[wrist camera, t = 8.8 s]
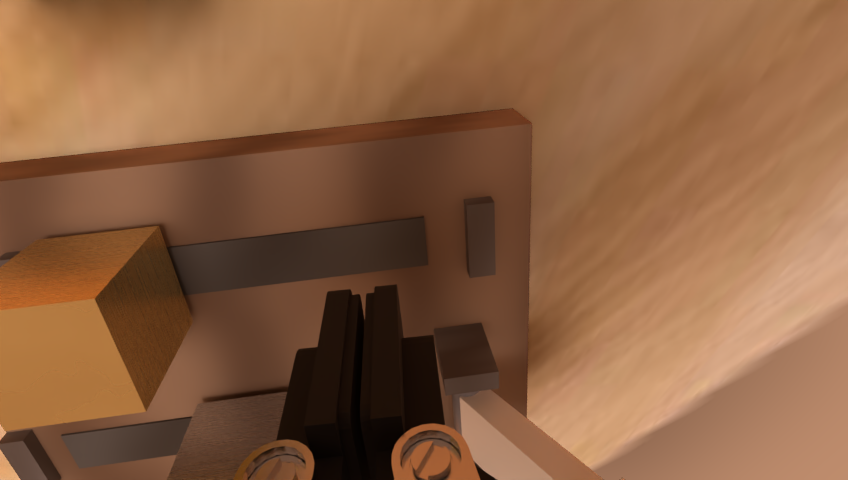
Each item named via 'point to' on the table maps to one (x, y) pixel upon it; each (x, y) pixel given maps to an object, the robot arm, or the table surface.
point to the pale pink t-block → (512, 442)
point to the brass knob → (87, 327)
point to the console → (294, 261)
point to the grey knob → (226, 436)
